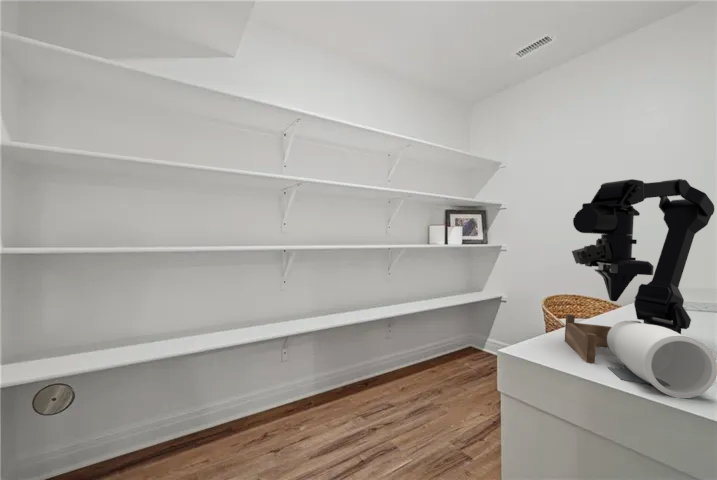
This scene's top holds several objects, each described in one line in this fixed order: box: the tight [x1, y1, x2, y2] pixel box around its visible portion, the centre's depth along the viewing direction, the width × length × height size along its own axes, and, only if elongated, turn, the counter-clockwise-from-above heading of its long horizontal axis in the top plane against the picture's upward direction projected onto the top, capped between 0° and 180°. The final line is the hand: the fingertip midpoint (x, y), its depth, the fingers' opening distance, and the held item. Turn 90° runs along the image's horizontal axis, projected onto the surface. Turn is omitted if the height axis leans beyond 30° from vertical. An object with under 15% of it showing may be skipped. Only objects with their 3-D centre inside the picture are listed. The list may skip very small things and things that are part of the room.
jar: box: [607, 320, 717, 399], centre depth 61 cm, size 11×10×15 cm
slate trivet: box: [607, 366, 670, 386], centre depth 62 cm, size 8×6×1 cm
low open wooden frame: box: [564, 313, 642, 364], centre depth 73 cm, size 16×15×7 cm
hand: (613, 301), depth 75 cm, fingers closed
